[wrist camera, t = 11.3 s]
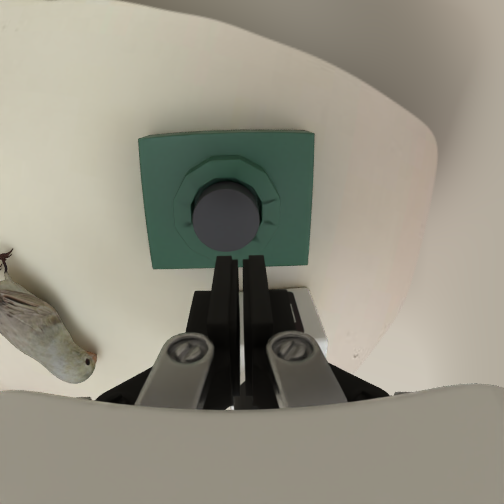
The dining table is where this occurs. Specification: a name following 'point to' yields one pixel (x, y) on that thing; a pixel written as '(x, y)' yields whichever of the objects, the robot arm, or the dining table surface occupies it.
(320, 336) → the container
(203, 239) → the dark grey push button
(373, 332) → the dining table surface
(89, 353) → the decorative bird
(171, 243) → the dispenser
